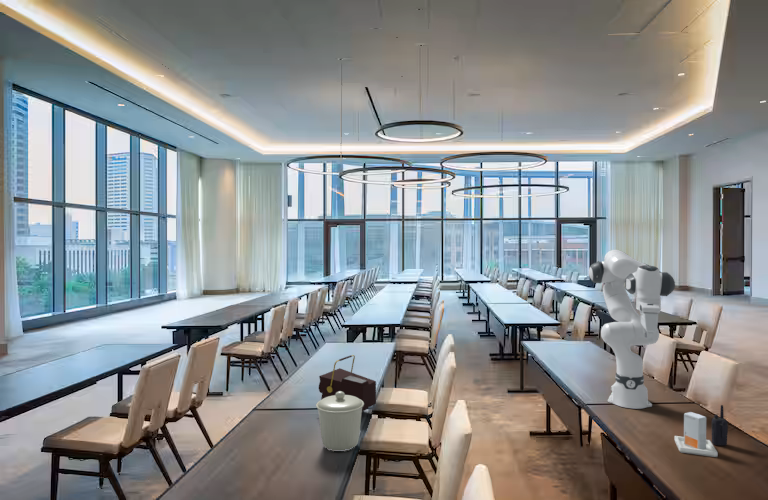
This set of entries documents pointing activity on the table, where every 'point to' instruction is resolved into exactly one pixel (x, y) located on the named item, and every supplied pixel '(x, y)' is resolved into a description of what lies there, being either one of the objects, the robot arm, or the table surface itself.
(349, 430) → the canister
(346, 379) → the brown box with handle
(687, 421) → the skincare box
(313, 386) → the table surface
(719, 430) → the two-way radio
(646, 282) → the robot arm
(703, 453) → the tray
